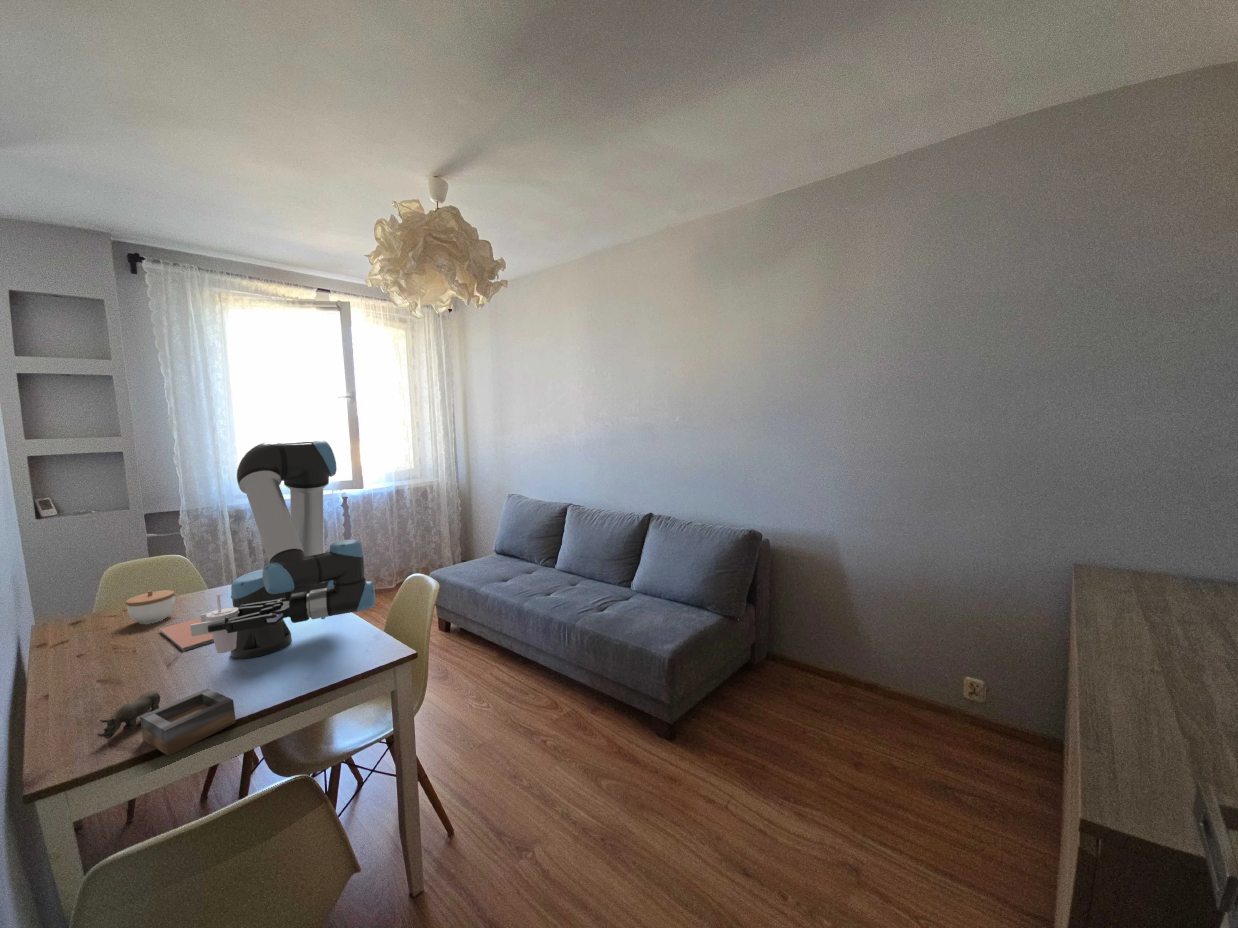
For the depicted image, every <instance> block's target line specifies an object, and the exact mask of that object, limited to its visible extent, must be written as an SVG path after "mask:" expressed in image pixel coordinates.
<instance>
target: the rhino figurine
mask: <svg viewBox="0 0 1238 928" xmlns="http://www.w3.org/2000/svg"><path fill="white" fill-rule="evenodd" d="M160 702H161V694H159V692H157V691H155V690H148V691H146V692H144V693H143V694H140V695H139V696H138V697H137V698H135V699H134V700H133V701H131V702H126V703H125V704H123V705H121V706H119V708H117V709H116V710H115V711H114V712H113V714H112V715H111V716H110V717H108V718H106V719H99V721H100V722H101V723H102V724H103V723H104V724H105V723H106V725H107V726H106V728H103V729H102V730H103V731H104V732H103V733H97V736H98V737H100V738H101V737H103V738H104V739H106V740H110V739H111V738H112V737H114V735H115V734H116V733H117V731H118V730H120V728H121V725H122V723H125V725H124V726H123V727H122V729H124V730H125V729H128V730H129V731H132V732H133V731H135V730H137V729H138V727H139V726H138V725H137V720H138V717H140V716H142V715H144V714H147V712H148V711H149V712H152V711H154V710H156V709H159V708H160V705H159V704H160ZM150 709H151V710H150Z"/></svg>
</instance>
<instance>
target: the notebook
mask: <svg viewBox="0 0 1238 928" xmlns="http://www.w3.org/2000/svg"><path fill="white" fill-rule="evenodd" d="M196 623H201V617H198V618H194V619H191V620H187V621H184V622H180V623H176V624H172V625H169V626H166V627H162V628H159V631H160V633H161V634H162V635H164V636H165V637H166V638H167V639H168V640H169V639H170V640H169V641H170V642H172V643H173V644H174V645H175V646H177V647H178V648H179V649H180V650H181V651H182V652H186V651H189V650H191V649H194V648H199V647H201V646H204V645H207V644H208V645H209V644H212V643H214V640H213V636H212V633H208V634H203V635H197V636H192V635H191V627H190V625H191V624H196Z"/></svg>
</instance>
